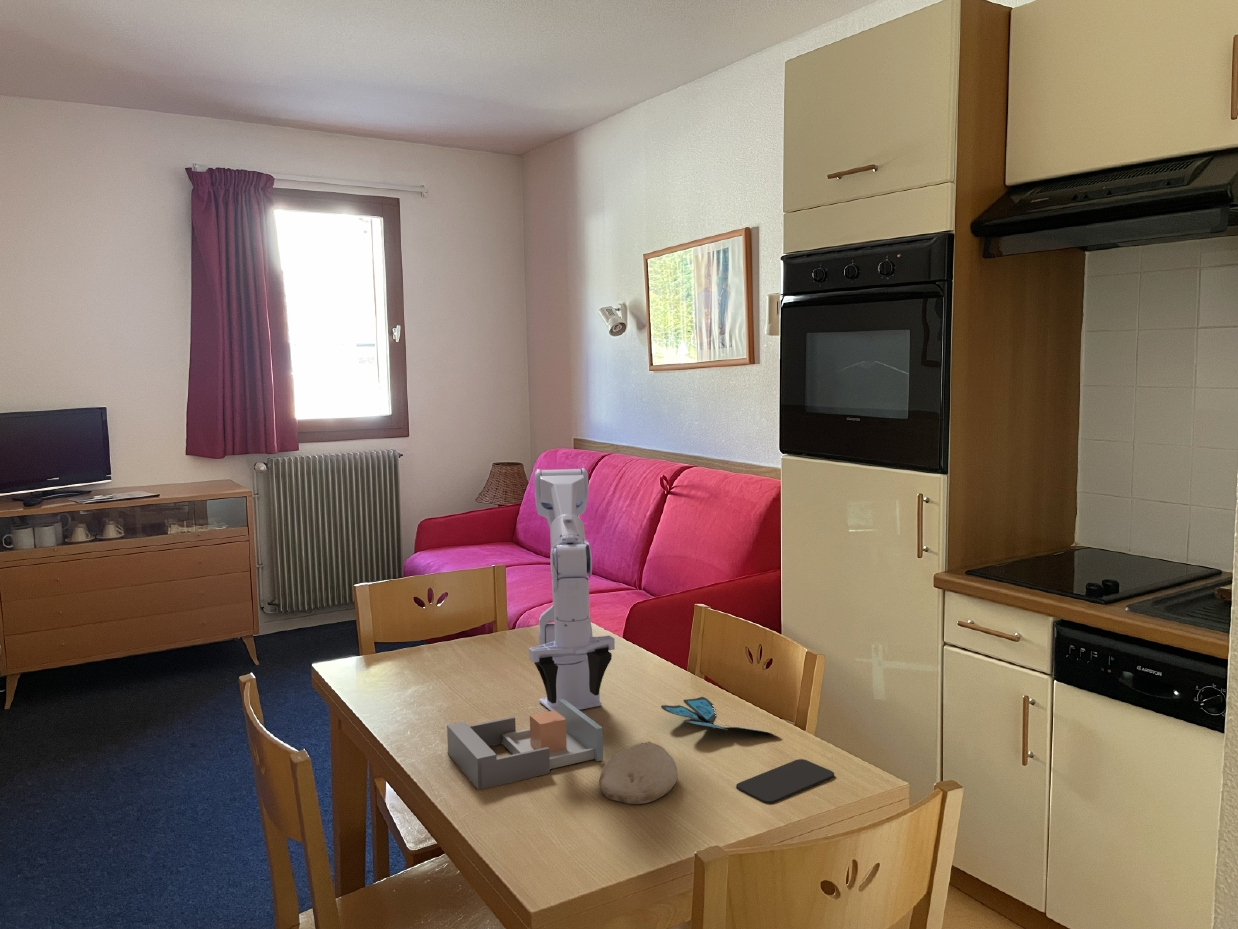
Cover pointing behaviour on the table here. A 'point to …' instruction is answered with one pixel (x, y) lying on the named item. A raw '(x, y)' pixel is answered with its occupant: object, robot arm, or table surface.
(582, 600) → the robot arm
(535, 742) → the block
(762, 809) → the table surface
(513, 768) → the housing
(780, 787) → the phone
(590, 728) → the tray
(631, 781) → the stone
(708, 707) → the decorative butterfly
